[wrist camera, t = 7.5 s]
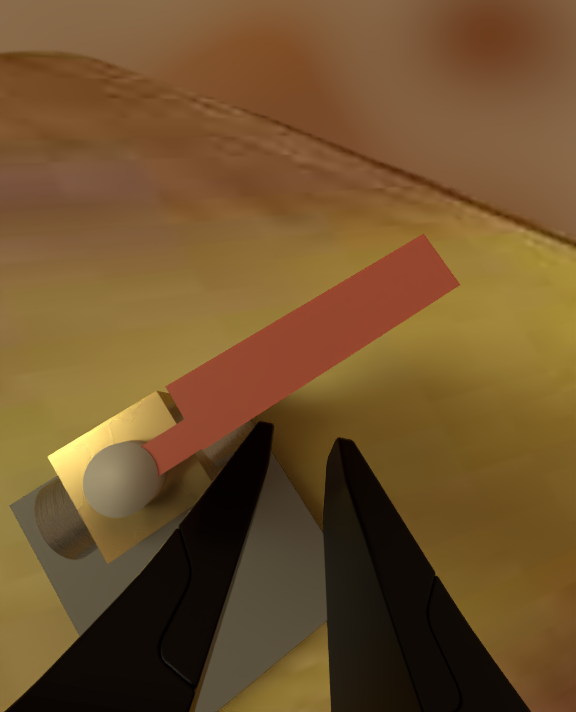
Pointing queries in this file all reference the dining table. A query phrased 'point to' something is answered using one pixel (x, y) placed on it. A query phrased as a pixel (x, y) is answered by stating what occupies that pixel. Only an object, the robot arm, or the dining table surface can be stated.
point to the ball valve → (179, 492)
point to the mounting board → (248, 596)
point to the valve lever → (268, 371)
